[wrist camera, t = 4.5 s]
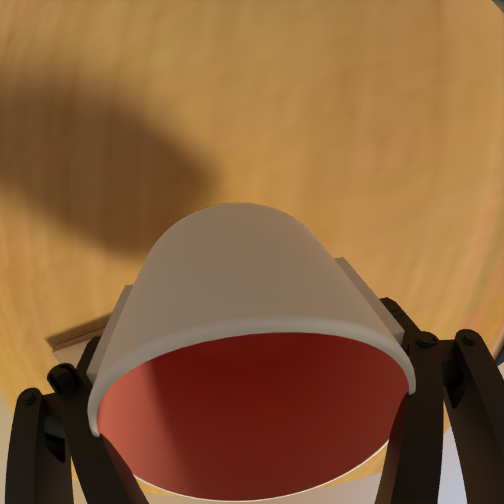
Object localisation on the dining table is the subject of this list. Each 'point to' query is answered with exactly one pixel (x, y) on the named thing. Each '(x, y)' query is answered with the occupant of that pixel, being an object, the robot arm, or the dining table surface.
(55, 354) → the oak coaster
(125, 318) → the cup
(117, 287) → the dining table surface
